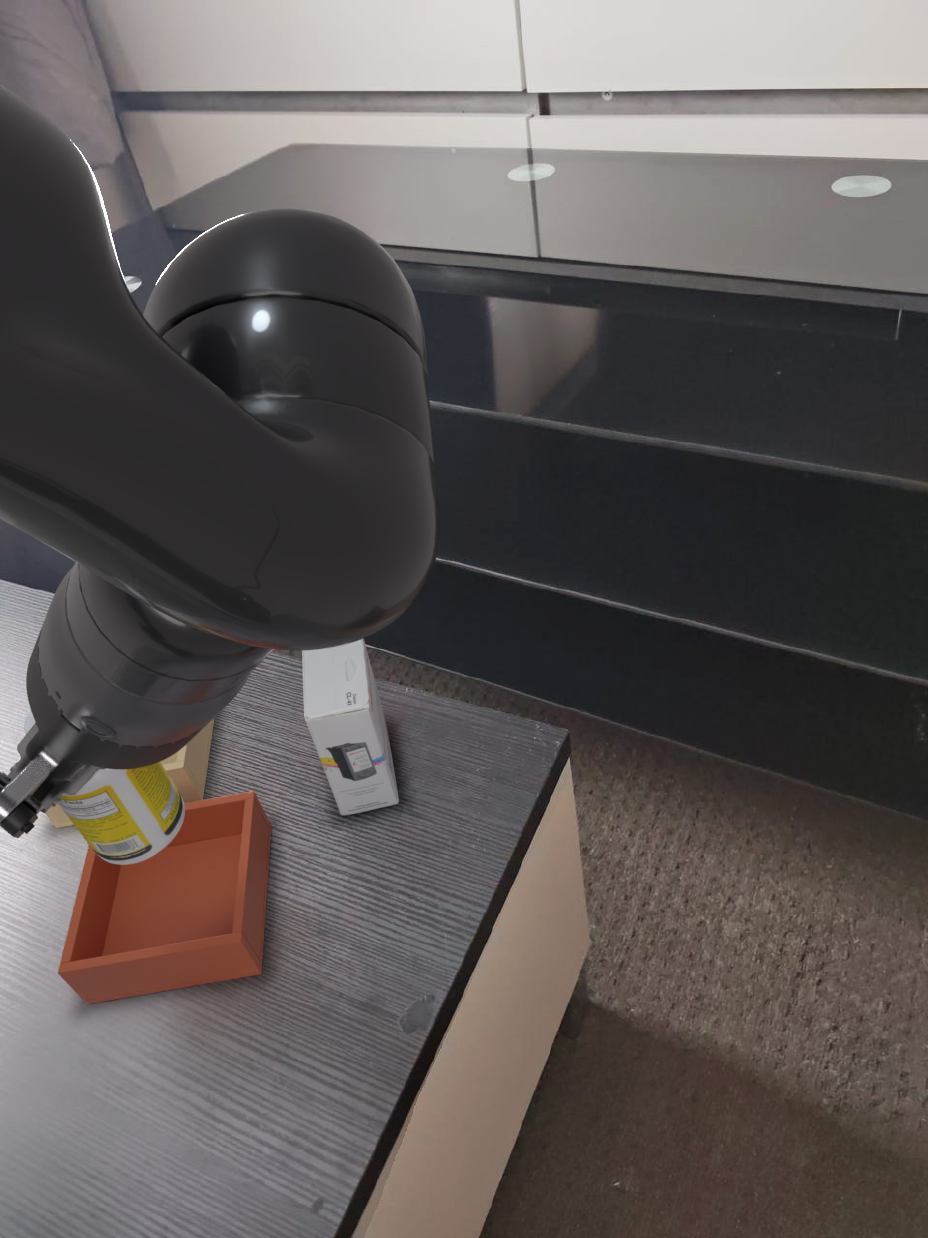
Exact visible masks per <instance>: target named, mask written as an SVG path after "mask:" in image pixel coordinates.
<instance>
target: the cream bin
mask: <svg viewBox="0 0 928 1238" xmlns="http://www.w3.org/2000/svg"><path fill="white" fill-rule="evenodd" d="M215 718H216V716H215V717H214V718H213V719H212V720H211V721H210V722H209V723H208V724H207V725H206V726H205V727H204V728H203V729H202V730H201V731H200V732H199V733H198V734H197V735H196V736H195V737H194V738H193V739H192V740H191V741H190V742H188V743H187V744H186V745H185V746H184V747H183V748H182V749H181V750H179V751H178V752H176V753H175V754H174V755H172V756H170V757H168V758H167V759H165V760H163V761H160V762H161V763H162V765H163V767H164V769H165V770H166V772H167V774H168V775H169V777H170V778H171V780H172V781H173V783H174V785H175V786H176V788H177V789H178V791H179V793H180V795H181V797H182V799H183V801H184V803H190V802H195V801H201V800H204V797H205V790H206V781H207V775H208V768H209V760H210V754H211V752H210V751H211V745H212V738H213V732H214V726H215V725H214V724H215ZM44 814H45V815H46V817H47V818H48V819H49V821H50V822H51V823H52V824H53V826H54V827H55V828H56V829H62V828H67V827H72V826H74V824H73V823H72V822H71V820H70V819H69V818H68V816H67V815H66V814H65V812H64V811H63V810H62V808H61V807H60V806H59V804H57V805H56V806H55V807H53V806H52V807H51V808H50V809H49V810H48V811H47V812H46V813H44Z"/></svg>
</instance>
